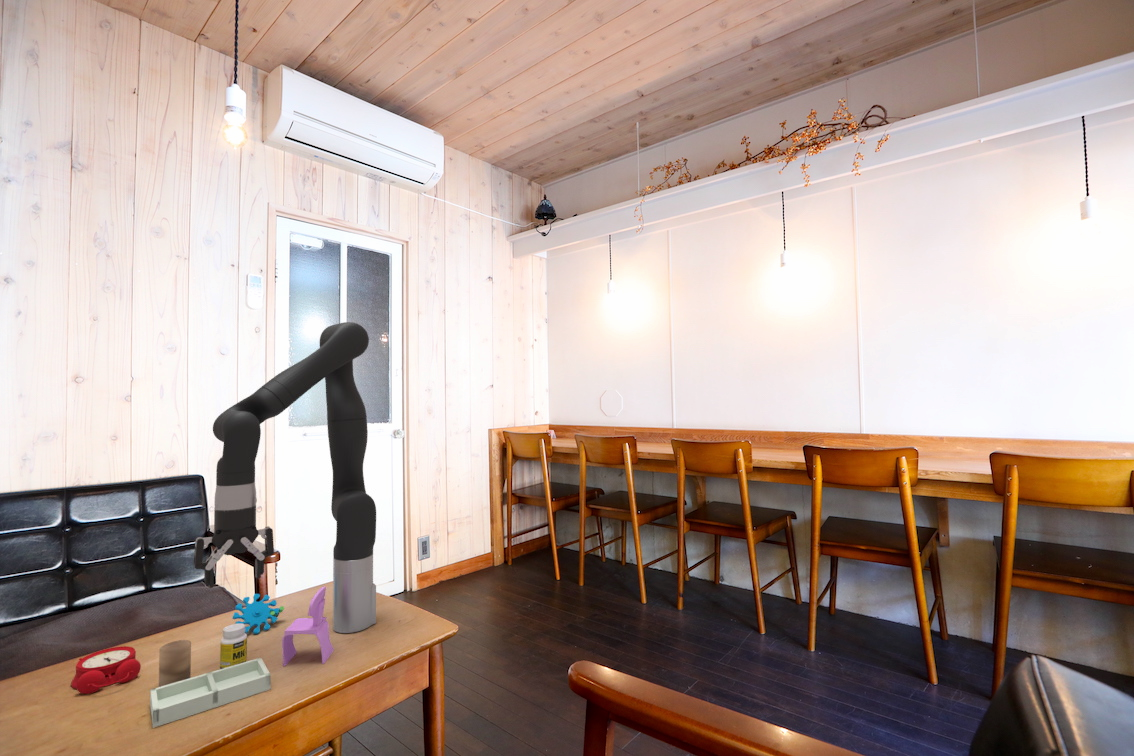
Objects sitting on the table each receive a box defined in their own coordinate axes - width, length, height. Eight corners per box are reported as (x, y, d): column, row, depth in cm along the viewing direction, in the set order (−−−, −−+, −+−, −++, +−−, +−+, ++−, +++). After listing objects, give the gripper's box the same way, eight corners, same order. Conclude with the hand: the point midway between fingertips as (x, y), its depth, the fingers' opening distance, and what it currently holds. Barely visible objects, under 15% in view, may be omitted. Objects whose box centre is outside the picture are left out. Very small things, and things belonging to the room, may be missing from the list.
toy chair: (294, 650, 118) (295, 582, 119) (335, 647, 119) (335, 580, 120) (278, 669, 110) (279, 596, 111) (322, 666, 111) (322, 594, 112)
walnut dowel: (188, 677, 107) (189, 637, 107) (191, 687, 103) (192, 646, 103) (157, 686, 104) (158, 645, 104) (159, 697, 100) (160, 654, 100)
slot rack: (260, 671, 109) (260, 657, 109) (270, 689, 102) (270, 674, 102) (150, 705, 97) (150, 689, 98) (152, 727, 91) (153, 711, 91)
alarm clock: (133, 640, 116) (146, 646, 106) (134, 670, 115) (147, 679, 105) (68, 658, 108) (76, 665, 99) (68, 690, 107) (76, 702, 97)
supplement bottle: (233, 674, 108) (234, 633, 108) (214, 672, 109) (214, 631, 109) (252, 663, 113) (252, 623, 113) (233, 661, 114) (233, 621, 114)
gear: (232, 634, 123) (234, 594, 129) (227, 646, 125) (229, 606, 132) (285, 627, 129) (284, 590, 136) (279, 639, 132) (278, 601, 139)
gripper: (269, 498, 119) (268, 570, 119) (192, 507, 110) (191, 585, 110) (277, 502, 114) (276, 578, 113) (197, 512, 104) (195, 595, 104)
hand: (234, 582), depth 111 cm, fingers open, 8 cm apart
